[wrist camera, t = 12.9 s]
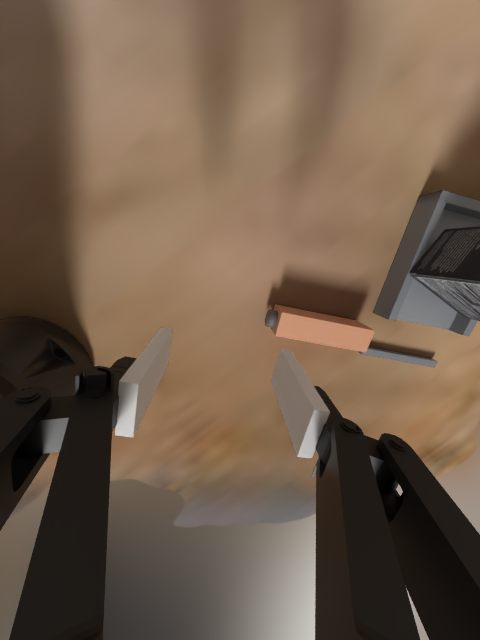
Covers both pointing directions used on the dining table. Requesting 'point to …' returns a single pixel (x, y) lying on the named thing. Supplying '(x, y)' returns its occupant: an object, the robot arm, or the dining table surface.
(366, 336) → the bar
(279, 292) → the dining table surface
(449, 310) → the tray
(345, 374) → the dining table surface
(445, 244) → the small box
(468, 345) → the dining table surface
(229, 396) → the dining table surface
